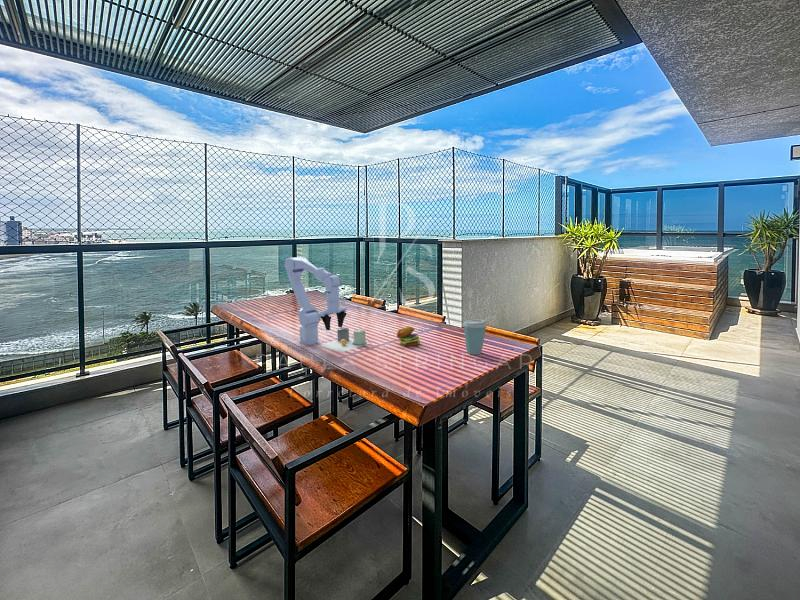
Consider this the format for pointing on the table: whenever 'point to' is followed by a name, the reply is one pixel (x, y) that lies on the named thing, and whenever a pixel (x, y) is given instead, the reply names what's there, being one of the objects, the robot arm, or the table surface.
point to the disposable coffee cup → (474, 335)
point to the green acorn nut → (359, 337)
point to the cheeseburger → (408, 336)
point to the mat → (339, 347)
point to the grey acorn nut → (343, 334)
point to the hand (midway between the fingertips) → (334, 328)
